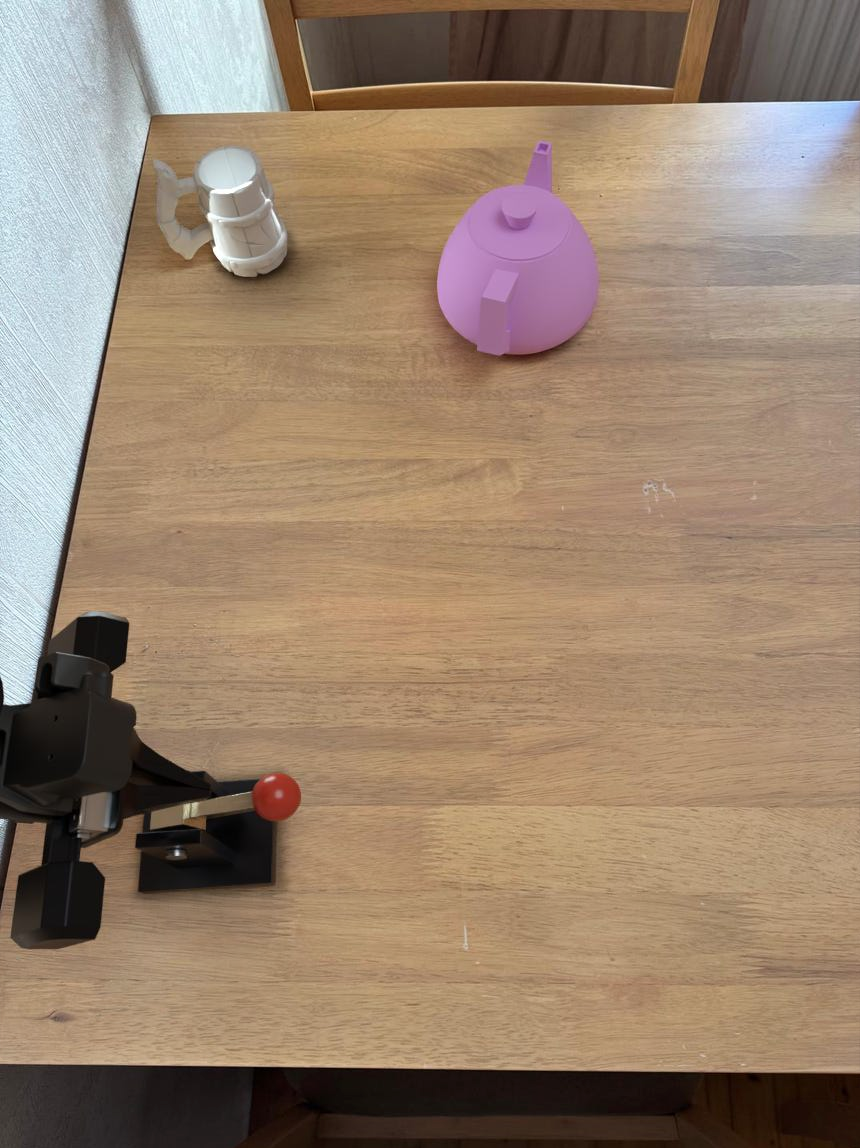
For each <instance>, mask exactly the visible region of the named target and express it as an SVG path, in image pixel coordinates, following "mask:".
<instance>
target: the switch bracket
mask: <svg viewBox="0 0 860 1148" xmlns="http://www.w3.org/2000/svg"><path fill="white" fill-rule="evenodd" d="M186 770H187V771H189V772H191V773H192V774H194V775H196V776H198V777H199V778H201V779H203V780H205V781H206V782H208V783H210V784H211V797H209V798H207V800H208V799H214V798H219V797H225V796H230V795H236V794H241V793H247V792H252V791H253V789H254V787H255V785H256V783H257V782H258V781H259V780H260V779H261V778H254V779H253V778H252V779H239V780H238V779H237V780H223V781H217V780H216V779H215V778H214V777H213V776H212V775H210V774H209V773H208V772H207V771H206V770H194V771H193V770H192V771H191V770H189V769H186ZM142 822H143V825H142V832H137V833H135V843H134V848H135V849H137V850H139V851H140V858H139V859H140V862H139V874H138V887H137V892H138V893H140V894H142V895H149V894H161V893H162V894H164V893H176V892H177V893H179V892H192V891H209V890H221V889H235V888H251V887H252V888H253V887H265V886H276V879H277V878H276V877H277V837H278V836H277V834H278V833H277V832H278V822H272V821H268V820H265V819H263V818H262V817H260V816H259V815H258V814H257V812H256V811H251V812H245V813H239V814H233V815H227V816H222V817H216V818H210V819H206V829H205V830H202V829H193V830H178V831H163V832H156V831H152V830H150V822H151V812H148V813H144V814H143V821H142Z"/></svg>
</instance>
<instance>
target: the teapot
mask: <svg viewBox="0 0 860 1148" xmlns="http://www.w3.org/2000/svg"><path fill="white" fill-rule="evenodd" d="M437 270H438V271H437V280H436V291H437V300H438V304H439V307H440V309H441V311H442V314H443V316H444V317H445V319H446V321H447V322H448V323H449V325H450V326H451V327H452V328H453V329H454V331H455V332H457V334H459V335H460V336H462V337H463V338H464V339H465V340H467V341H469V342H470V343H472V344H474V345H476V350H477V351H478V352H482V353H485V354H486V353H487V354H491V355H494V356H495V355H496V356H499V357H500V356H502V355H504V354H505V355H521V356H522V355H531V354H535V353H536V354H537V353H541V352H544V351H547V350H550V349H552V348H555V347H558V346H559V345H561V344H563V343H565V342H566V341H568V340H569V339H572V337H573V336H575V335H576V334H578V332H580V330H582V328H583V327H584V326H585V325H586V323H587V322H588V321H589V319H590V317H591V316H592V315H593V314H592V313H593V312H594V310H595V307H596V304H597V302H598V301H597V300H598V296H599V288H600V287H599V286H600V285H599V284H600V283H599V282H600V281H599V278H600V277H599V269H598V263H597V258H596V253H595V250H594V248H593V245H592V243H591V239H590V237H589V236H588V233H587V231H586V230H585V228H584V227H583V225H582V224H581V222H580V220H578V218H577V217H576V215H575V214H574V213H573V211H572V210H571V209H570V208H569V206H568V205H567V204H565V203H564V202H563V200H562V199H560V197H558V196H557V195H556V194H554V193H553V142H549V141H545V140H540V139H538V140H537V143H536V145H535V147H534V150H533V154H532V158H531V160H530V164H529V167H528V170H527V173H526V176H525V179H524V182H523V184H512V185H506V186H502V187H501V186H500V187H498V188H495V189H493V190H491V191H489V192H486V193H485V194H484V195H481V197H479V198H478V199H477V200H476V201H475V202H474V203H472V205H471V206H470V207H469V208H468V209H467V210H466V212H465V213H464V214H463V216H462V217H461V218H460V219H459V220H458V222H457V224H456V225H455V226H454V228H453V230H452V232H451V233H450V234H449V236H448V239H447V241H446V243H445V245H444V248H443V250H442V253H441V257H440V260H439V266H438V269H437Z"/></svg>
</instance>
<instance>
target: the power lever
mask: <svg viewBox="0 0 860 1148" xmlns="http://www.w3.org/2000/svg"><path fill="white" fill-rule="evenodd" d="M259 779H260V780H259V781H258V782H257V783H256V785H255V787H254V789H253V791H252V792H247V793H241V794H236V795H230V796H225V797H219V798H214V799H208V800H207V799H205V800H201V801H197V802H192V803H188V804H183V805H179V806H175V807H170V808H166V809H162V810H157V811H153V812H151V822H150V830H152V831H156V832H163V831H178V830H193V829H202V830H205V829H206V819H210V818H216V817H222V816H227V815H233V814H239V813H245V812H251V811H256V812H257V814H258V815H259V816H260V817H262V818H263V819H265V820H268V821H272V822H277V823H279V822H283V821H285V820H288V819H289V818H291V817H292V816H294V814H296V812H297V810H298V809H299V807H300V805H301V800H302V792H301V788H300V786H299V784H298V782H297V781H296V780H295V779H294V778H293V777H292V776H290V775H288V774H286V773H283V772H271V773H268V774H266V775H264V776H262V777H261V778H259Z"/></svg>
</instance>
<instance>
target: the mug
mask: <svg viewBox="0 0 860 1148" xmlns="http://www.w3.org/2000/svg"><path fill="white" fill-rule="evenodd" d="M151 163H152V168H153V171H154V172H155V175H156V182H155V184H156V217H155V218H156V223H157V225H158V227H159V229H160V230H161V232H162V233H163V236H164V238H165V241H166V242H167V245H168V246H169V247H170V248H171V249H172V251H174V252H175V253H179V254H180V255H181V256H182V257H183V258H184V259H185V260H191V259H192V258H194V256H195V254H196V252H197V251H198V250H199V248H201V247H202V246H204V245H205V244H207V243H208V242H209V243H210V247H211V248H212V251H213V253H214V255H215V257H216V259H218V261H219V262H220V263H221V265H222V266H223V267H224V269H226V270H227V271H228V272H230V273H234V275H235V276H239V277H244V278H255V277H258V274H262V275H266V274H268V273H270V272H272V271H273V270H275V269H277V268H278V267H279V266H280V265H281V264H282V263H283V262H284V258H286V256H287V255H288V254H287V253H288V239H289V237H288V230H287V227H286V226H285V222H284V221H283V219H282V218H281V217H280V216H279V214H278V211H277V207H276V205H275V195H276V192H275V190H274V187H273V185H272V184H271V182H270V180H269V179H268V178H267V177H266V173H265V170H264V167H263V164H262V161H261V160H260V158H259V156H258V155H257V154H256V153H255V152H254V151H253V150H251V148H248V147H246V146H242V145H235V144H228V145H227V144H226V145H225V146H217V147H214V148H212V149H210V150H209V151H207V152H206V153H204V154H203V155H201V156H200V158H199V159H198V160H197V161H196V164H195V166H194V168H193V176H190V177H189V176H188V177H184V178H180V179H178V177H177V175H176V173H175V171H174V170H173V168H171V166H169V165H168V164H166V163H165V162H164V161H162V160H159V159H157V158H153V159H152V161H151ZM197 193H198V205H199V209H200V211H201V212H202V214H203V216H204V217H205V219H206V220H207V221H205V222H203V223H201V224H200V225H198V226H196V227H195V228H193V229H192V230H190V229H189V228H187V227H184V226H183V225H182V224H180V223H179V221H178V219H177V217H176V213H175V211H176V208H177V206H178V203H179V201H180V197H182V196H185V195H190V194H197Z"/></svg>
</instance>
